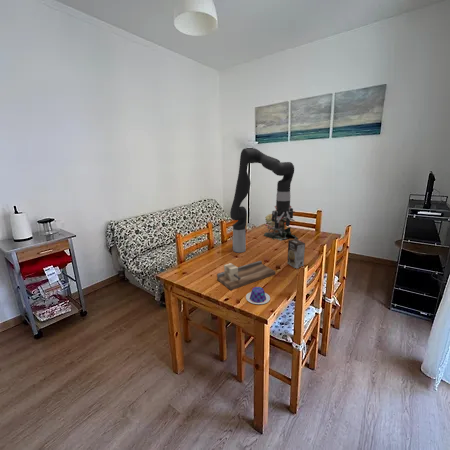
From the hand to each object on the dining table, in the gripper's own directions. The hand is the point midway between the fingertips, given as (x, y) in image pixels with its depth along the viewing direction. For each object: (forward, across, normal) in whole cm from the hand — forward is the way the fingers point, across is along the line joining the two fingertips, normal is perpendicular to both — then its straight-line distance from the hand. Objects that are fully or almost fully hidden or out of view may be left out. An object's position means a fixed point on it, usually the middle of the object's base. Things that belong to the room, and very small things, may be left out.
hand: (282, 227), depth 142 cm
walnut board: (+28, +20, -8) cm, 35 cm away
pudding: (+29, +29, +13) cm, 43 cm away
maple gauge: (+26, +30, -7) cm, 40 cm away
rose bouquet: (+29, -50, -52) cm, 77 cm away
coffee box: (+29, -15, -2) cm, 33 cm away
